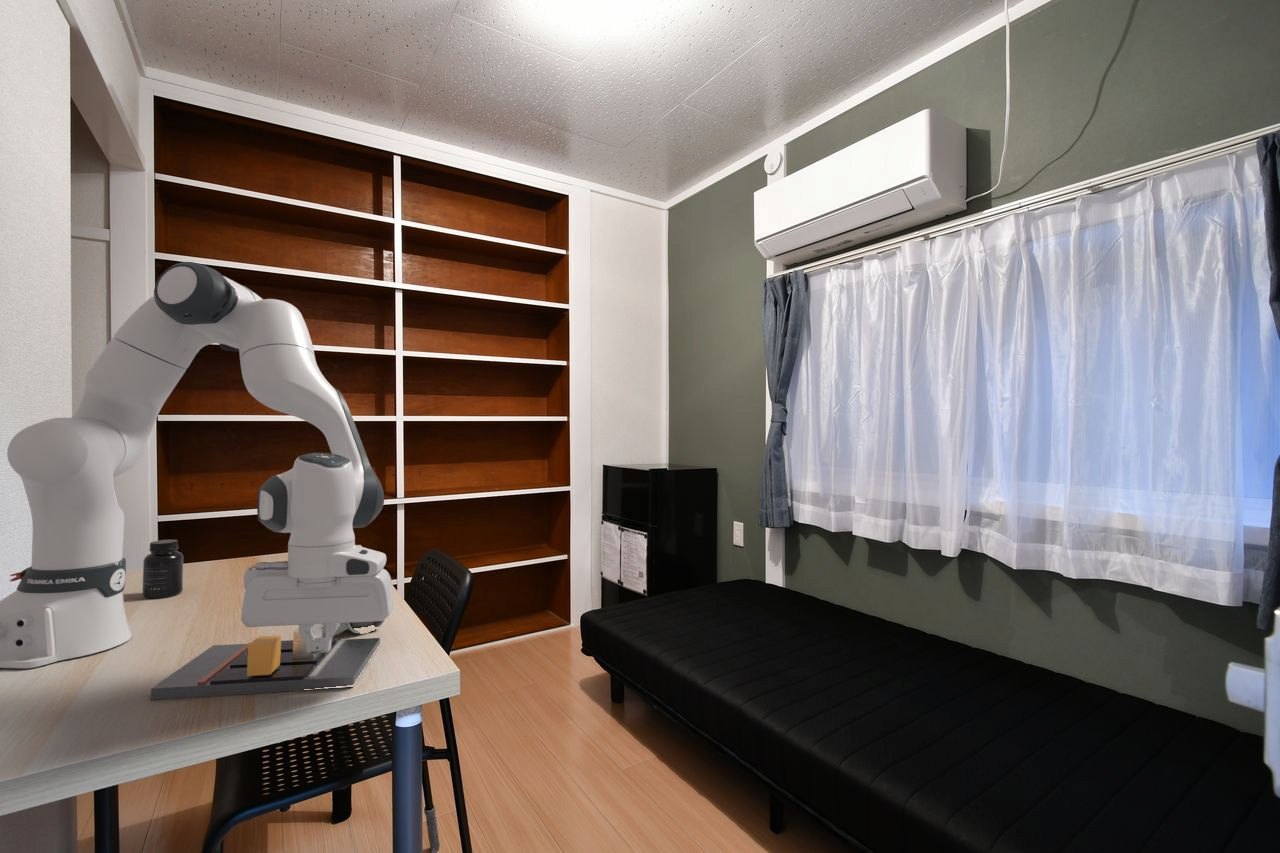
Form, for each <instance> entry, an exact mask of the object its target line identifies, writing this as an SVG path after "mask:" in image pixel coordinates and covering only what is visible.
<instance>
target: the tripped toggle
mask: <svg viewBox="0 0 1280 853" xmlns="http://www.w3.org/2000/svg"><path fill="white" fill-rule="evenodd" d="M281 641H282V635H281V634H277V635H260V636H257V637H256V638H255V639H253V640H252V641H251V642H249V643H250V644H249V645H248V661H247V676H256V675H270V674H271V673H272V672H273V671H274V670H275V669H276V668H277V667H278V666H279V665H280V655H281Z"/></svg>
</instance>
